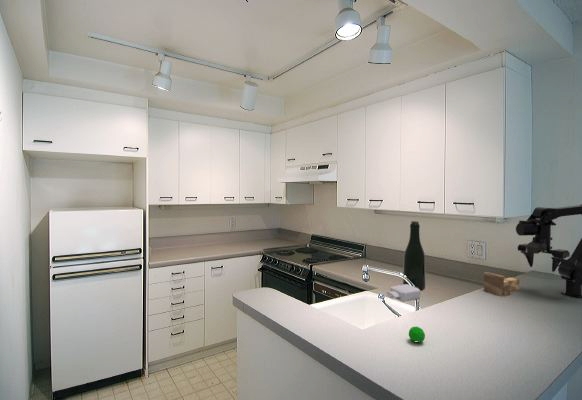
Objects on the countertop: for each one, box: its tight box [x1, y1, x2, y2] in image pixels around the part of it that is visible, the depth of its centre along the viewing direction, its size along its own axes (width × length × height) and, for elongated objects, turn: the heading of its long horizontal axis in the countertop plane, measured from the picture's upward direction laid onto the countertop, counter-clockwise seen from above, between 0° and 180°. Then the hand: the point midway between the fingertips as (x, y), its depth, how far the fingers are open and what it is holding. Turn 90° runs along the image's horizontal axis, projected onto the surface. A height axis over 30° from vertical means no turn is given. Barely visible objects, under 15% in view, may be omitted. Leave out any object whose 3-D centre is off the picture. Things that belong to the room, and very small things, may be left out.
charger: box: [384, 284, 421, 303], centre depth 147 cm, size 5×9×15 cm
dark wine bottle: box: [402, 220, 427, 292], centre depth 160 cm, size 10×10×33 cm
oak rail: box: [504, 276, 520, 292], centre depth 156 cm, size 14×4×5 cm, turn 114°
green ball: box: [408, 326, 426, 342], centre depth 107 cm, size 5×5×5 cm
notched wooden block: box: [483, 271, 511, 297], centre depth 153 cm, size 6×9×9 cm
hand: (541, 269), depth 149 cm, fingers open, 9 cm apart
